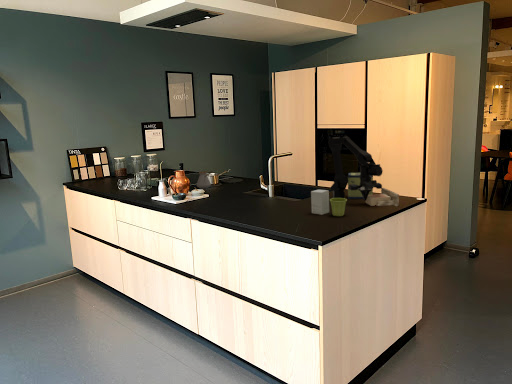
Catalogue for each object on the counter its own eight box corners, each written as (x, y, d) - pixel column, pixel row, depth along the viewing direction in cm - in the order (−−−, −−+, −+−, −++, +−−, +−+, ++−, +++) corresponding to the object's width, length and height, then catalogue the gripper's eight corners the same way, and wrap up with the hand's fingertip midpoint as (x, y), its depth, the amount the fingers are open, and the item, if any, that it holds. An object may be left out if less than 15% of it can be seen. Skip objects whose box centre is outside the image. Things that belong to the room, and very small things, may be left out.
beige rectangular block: (370, 206, 247) (370, 197, 246) (365, 203, 256) (365, 195, 255) (390, 205, 248) (390, 196, 247) (384, 202, 257) (384, 193, 256)
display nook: (380, 207, 242) (380, 195, 241) (366, 199, 264) (366, 188, 262) (398, 206, 243) (398, 194, 242) (383, 198, 265) (383, 187, 263)
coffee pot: (194, 188, 337) (192, 169, 334) (206, 186, 344) (205, 168, 341) (207, 191, 320) (206, 171, 318) (220, 189, 327) (219, 170, 324)
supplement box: (329, 212, 236) (329, 190, 234) (321, 215, 231) (321, 192, 229) (318, 210, 241) (318, 189, 239) (311, 213, 236) (310, 191, 234)
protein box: (373, 198, 266) (373, 174, 263) (347, 199, 269) (347, 175, 266) (372, 195, 276) (372, 172, 273) (347, 195, 279) (347, 172, 276)
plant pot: (343, 212, 234) (343, 197, 233) (349, 216, 225) (349, 200, 223) (327, 213, 233) (327, 198, 231) (333, 217, 224) (333, 201, 222)
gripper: (354, 177, 240) (354, 204, 243) (385, 175, 242) (385, 202, 245) (348, 175, 251) (348, 200, 254) (378, 173, 253) (378, 198, 256)
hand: (365, 200), depth 252 cm, fingers closed
